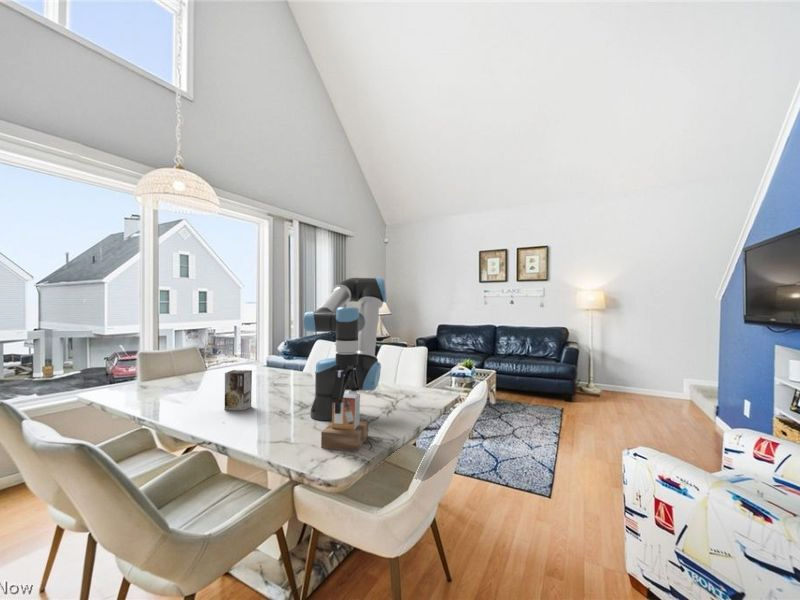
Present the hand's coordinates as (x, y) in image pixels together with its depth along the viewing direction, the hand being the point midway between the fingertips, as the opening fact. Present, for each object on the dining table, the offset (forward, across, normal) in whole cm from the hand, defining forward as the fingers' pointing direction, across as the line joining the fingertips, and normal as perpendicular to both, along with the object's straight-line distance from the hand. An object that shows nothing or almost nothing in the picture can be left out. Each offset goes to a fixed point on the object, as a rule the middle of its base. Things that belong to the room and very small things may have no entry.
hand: (346, 415), depth 108 cm
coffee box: (+9, -23, -58) cm, 63 cm away
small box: (+4, 0, 0) cm, 4 cm away
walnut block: (+8, 0, 0) cm, 9 cm away
